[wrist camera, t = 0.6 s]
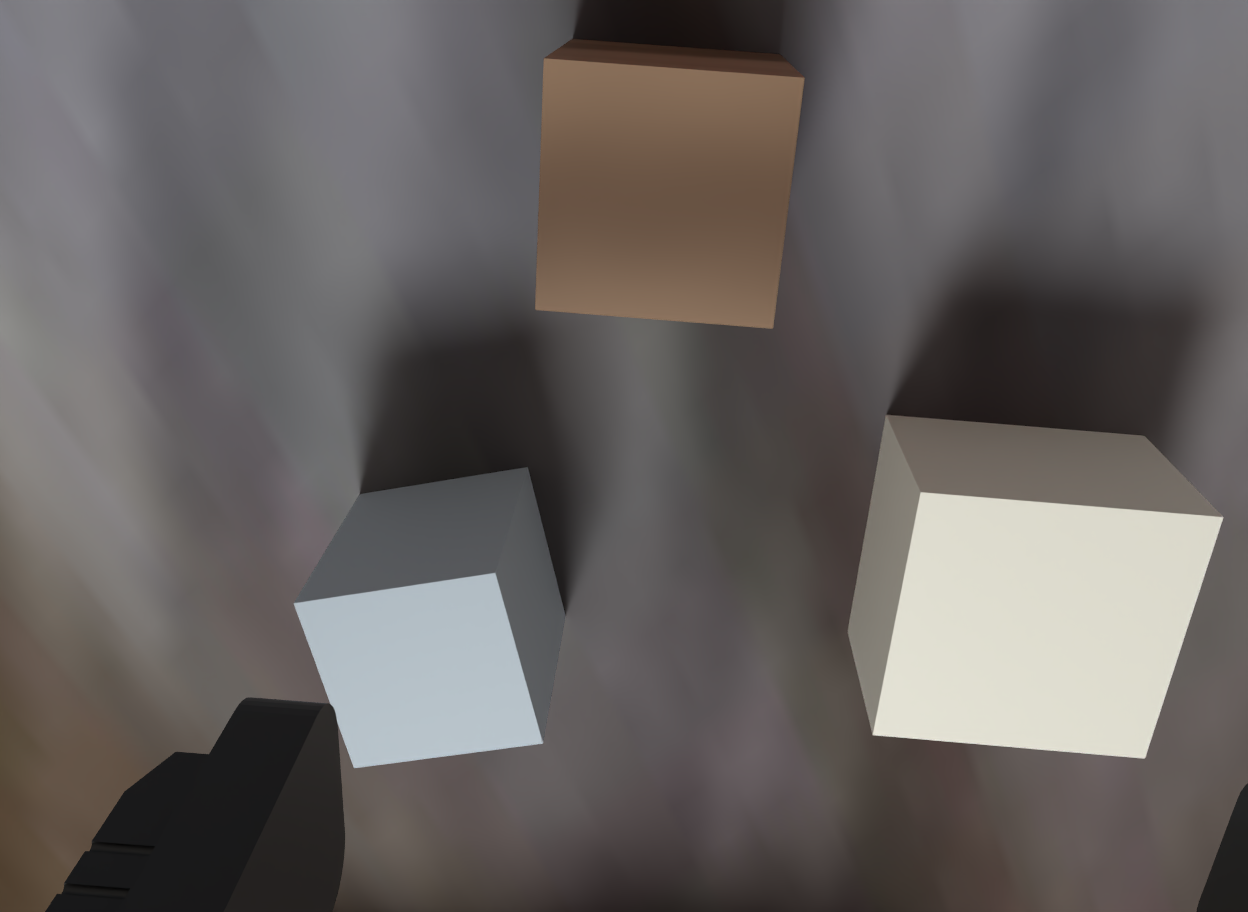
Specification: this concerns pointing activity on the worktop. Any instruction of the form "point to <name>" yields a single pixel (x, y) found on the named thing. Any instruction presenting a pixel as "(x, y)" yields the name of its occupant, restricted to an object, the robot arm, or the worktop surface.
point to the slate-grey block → (437, 620)
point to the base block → (1025, 585)
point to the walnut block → (665, 181)
